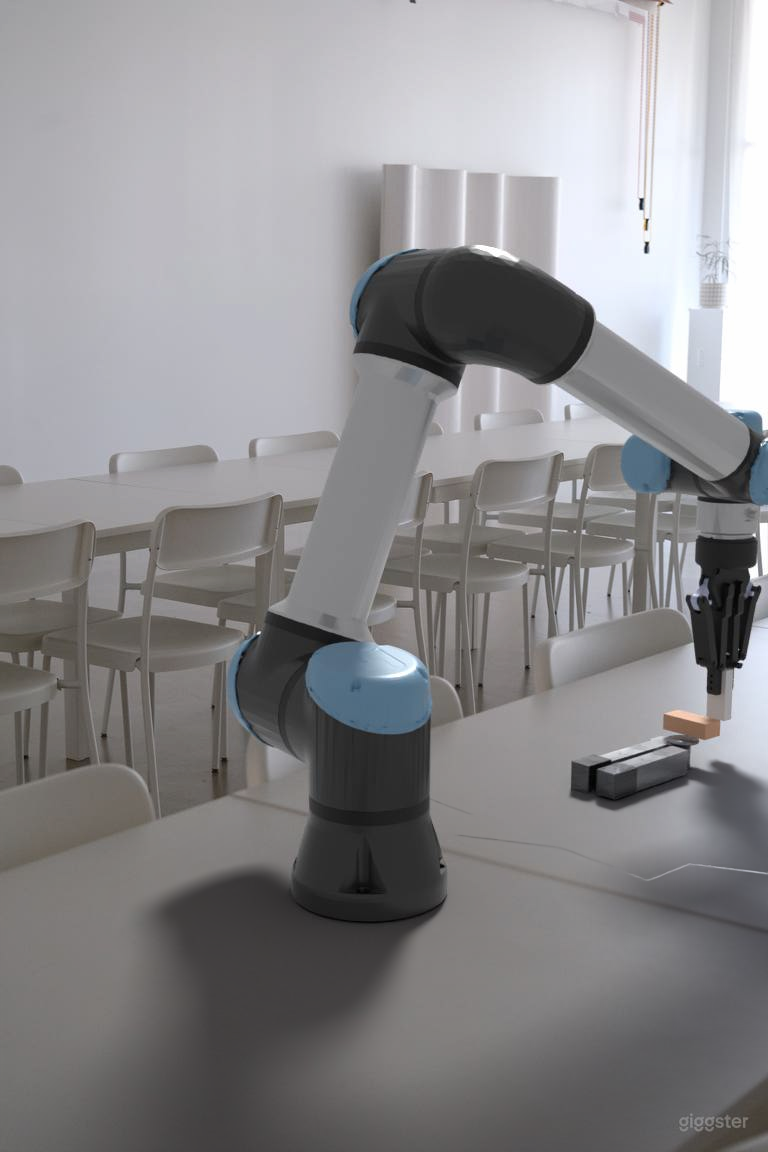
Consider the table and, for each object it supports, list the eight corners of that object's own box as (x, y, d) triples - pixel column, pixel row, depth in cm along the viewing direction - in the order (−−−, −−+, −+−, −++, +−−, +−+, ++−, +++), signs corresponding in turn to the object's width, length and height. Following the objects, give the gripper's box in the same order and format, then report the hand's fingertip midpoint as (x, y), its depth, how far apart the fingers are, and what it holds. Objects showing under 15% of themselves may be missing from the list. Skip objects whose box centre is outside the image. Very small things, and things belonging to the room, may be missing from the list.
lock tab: (677, 724, 176) (678, 709, 176) (719, 735, 171) (720, 720, 171) (663, 729, 174) (663, 713, 174) (704, 740, 170) (705, 724, 169)
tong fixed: (662, 758, 175) (663, 732, 175) (693, 767, 172) (694, 741, 171) (569, 787, 164) (569, 760, 164) (600, 797, 161) (601, 770, 160)
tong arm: (678, 757, 175) (679, 732, 174) (709, 766, 171) (710, 741, 171) (582, 789, 162) (583, 763, 162) (614, 799, 159) (615, 772, 158)
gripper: (720, 542, 165) (712, 733, 169) (783, 533, 174) (773, 715, 178) (669, 536, 171) (662, 720, 175) (732, 526, 179) (724, 703, 183)
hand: (718, 717), depth 176 cm, fingers closed
